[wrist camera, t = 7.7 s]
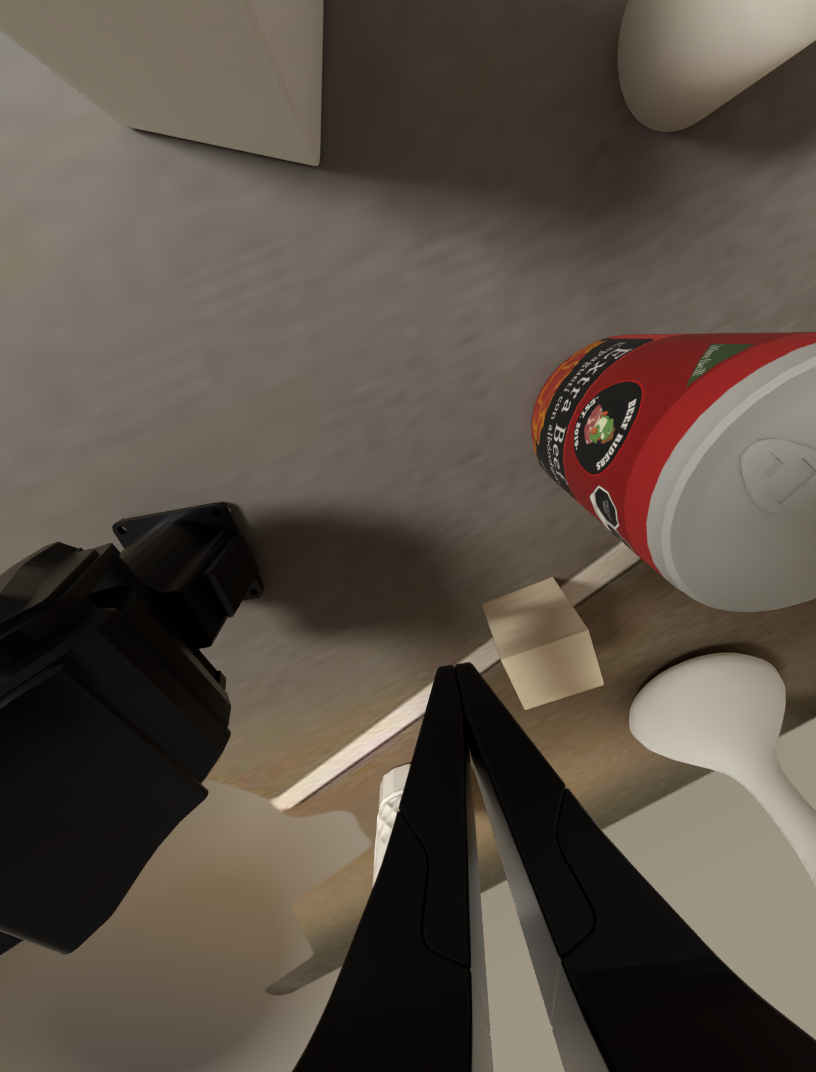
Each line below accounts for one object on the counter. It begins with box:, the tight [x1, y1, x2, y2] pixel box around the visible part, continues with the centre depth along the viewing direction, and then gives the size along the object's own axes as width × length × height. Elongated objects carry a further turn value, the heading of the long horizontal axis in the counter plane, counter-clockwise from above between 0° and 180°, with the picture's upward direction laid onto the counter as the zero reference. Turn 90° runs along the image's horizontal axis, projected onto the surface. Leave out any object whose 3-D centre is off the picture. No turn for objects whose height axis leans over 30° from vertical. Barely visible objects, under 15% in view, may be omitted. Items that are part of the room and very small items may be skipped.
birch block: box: [482, 577, 604, 710], centre depth 23 cm, size 5×5×5 cm
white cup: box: [372, 763, 411, 889], centre depth 31 cm, size 8×8×10 cm
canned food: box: [532, 332, 816, 612], centre depth 14 cm, size 8×8×11 cm
